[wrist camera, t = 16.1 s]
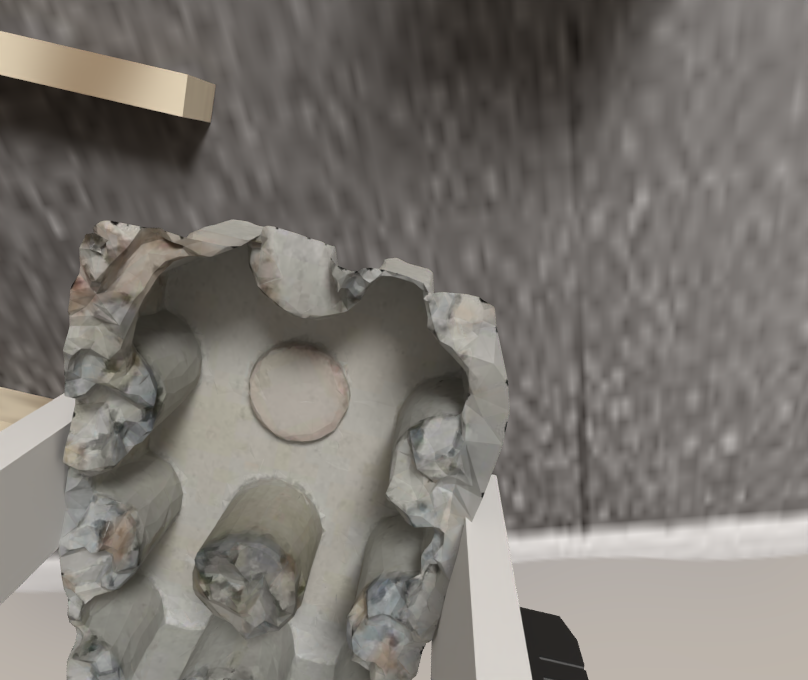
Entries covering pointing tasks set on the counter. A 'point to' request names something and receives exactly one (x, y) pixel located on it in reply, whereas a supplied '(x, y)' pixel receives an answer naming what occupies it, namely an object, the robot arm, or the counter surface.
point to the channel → (102, 81)
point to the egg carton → (267, 455)
